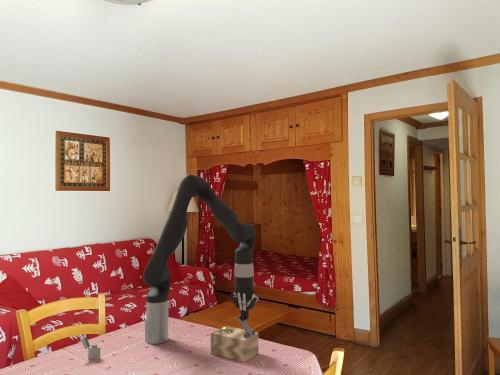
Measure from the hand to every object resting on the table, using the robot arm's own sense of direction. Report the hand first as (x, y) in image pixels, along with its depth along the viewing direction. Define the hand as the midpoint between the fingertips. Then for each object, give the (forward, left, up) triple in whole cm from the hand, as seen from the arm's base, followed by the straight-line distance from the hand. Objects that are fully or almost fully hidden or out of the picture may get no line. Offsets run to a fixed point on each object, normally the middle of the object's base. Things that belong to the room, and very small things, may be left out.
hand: (244, 319), depth 147 cm
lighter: (-50, -33, -14) cm, 62 cm away
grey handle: (0, 0, -3) cm, 3 cm away
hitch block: (-5, 0, -14) cm, 15 cm away
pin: (-9, 0, -14) cm, 17 cm away
